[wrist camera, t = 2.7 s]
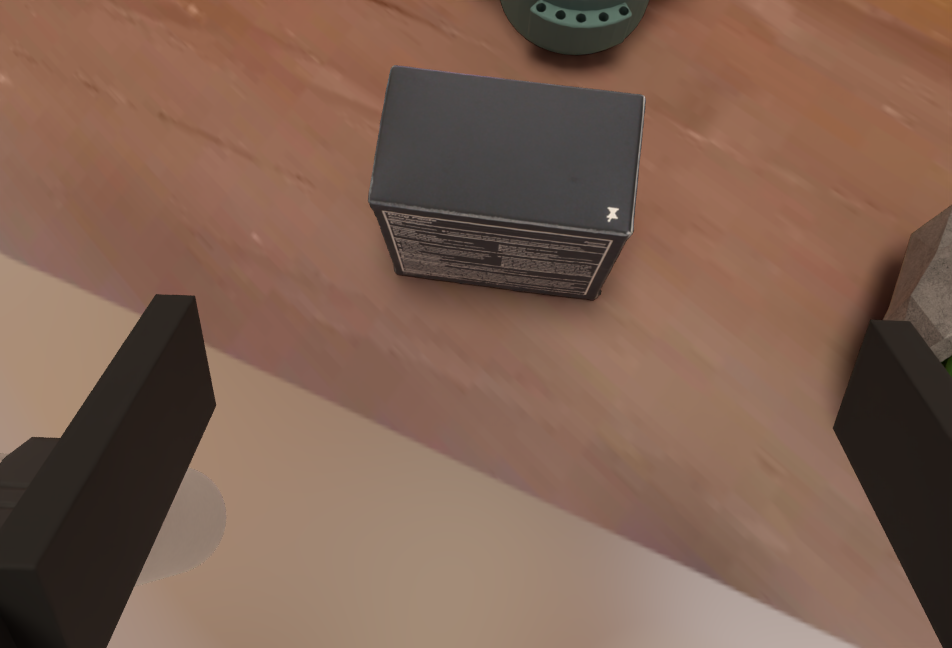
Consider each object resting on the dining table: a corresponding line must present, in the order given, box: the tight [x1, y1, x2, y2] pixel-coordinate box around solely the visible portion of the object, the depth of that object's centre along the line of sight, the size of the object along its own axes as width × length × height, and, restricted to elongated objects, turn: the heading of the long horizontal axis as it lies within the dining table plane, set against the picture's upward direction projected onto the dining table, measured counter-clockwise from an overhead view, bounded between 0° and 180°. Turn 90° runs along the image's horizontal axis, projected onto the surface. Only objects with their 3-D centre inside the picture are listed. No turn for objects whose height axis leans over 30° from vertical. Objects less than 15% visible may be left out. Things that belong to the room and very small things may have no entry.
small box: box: [368, 65, 646, 300], centre depth 37 cm, size 11×6×10 cm, turn 82°
